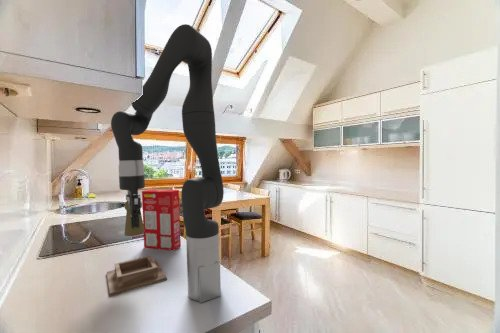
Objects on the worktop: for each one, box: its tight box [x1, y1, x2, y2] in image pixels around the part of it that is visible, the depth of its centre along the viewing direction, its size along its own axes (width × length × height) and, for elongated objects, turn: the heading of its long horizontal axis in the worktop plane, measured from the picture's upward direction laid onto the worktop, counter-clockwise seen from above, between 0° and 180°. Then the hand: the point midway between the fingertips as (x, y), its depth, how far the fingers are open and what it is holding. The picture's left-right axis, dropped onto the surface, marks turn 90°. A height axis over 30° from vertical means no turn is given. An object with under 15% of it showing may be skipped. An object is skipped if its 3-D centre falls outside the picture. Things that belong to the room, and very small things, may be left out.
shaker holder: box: [106, 255, 168, 297], centre depth 81 cm, size 16×16×4 cm
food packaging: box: [141, 189, 182, 251], centre depth 107 cm, size 15×5×25 cm, turn 76°
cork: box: [124, 200, 145, 237], centre depth 80 cm, size 6×6×11 cm
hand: (134, 226), depth 80 cm, fingers closed on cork, 4 cm apart
